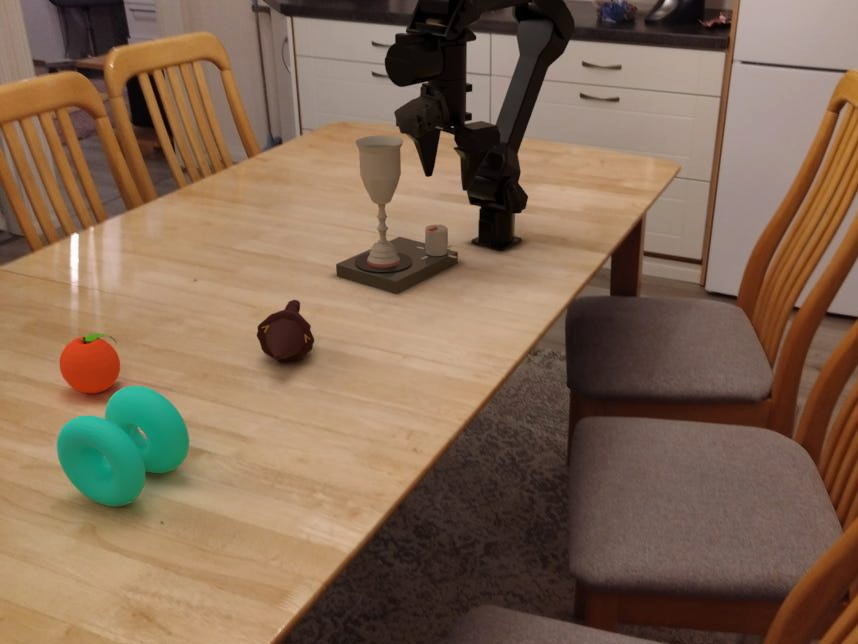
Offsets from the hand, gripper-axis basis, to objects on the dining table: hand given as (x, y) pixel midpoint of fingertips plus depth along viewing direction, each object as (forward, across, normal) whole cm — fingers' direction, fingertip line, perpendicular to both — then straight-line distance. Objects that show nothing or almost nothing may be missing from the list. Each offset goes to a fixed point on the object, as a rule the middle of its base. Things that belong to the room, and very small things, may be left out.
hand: (447, 183), depth 155 cm
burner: (+11, -2, -11) cm, 16 cm away
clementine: (+13, +7, -61) cm, 63 cm away
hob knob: (+11, -1, -2) cm, 11 cm away
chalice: (+11, -3, -10) cm, 15 cm away
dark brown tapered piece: (+13, +14, -38) cm, 43 cm away
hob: (+13, -3, -8) cm, 15 cm away
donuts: (+13, +30, -67) cm, 75 cm away
